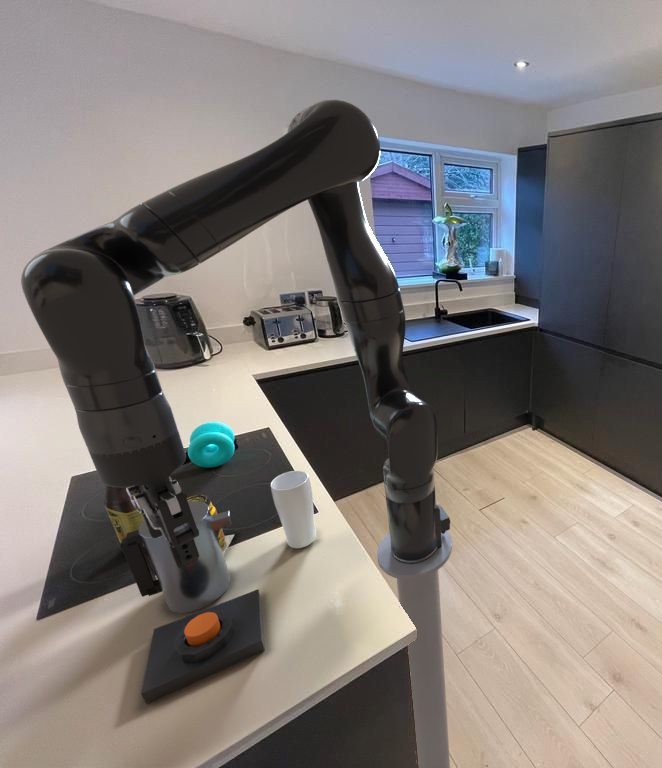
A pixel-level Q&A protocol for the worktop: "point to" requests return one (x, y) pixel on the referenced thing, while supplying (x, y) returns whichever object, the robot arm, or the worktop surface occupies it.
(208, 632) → the button
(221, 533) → the condiment
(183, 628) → the black base plate
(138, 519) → the sauce bottle
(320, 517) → the worktop surface
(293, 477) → the drinking glass
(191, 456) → the turquoise yo-yo
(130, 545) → the kettle
